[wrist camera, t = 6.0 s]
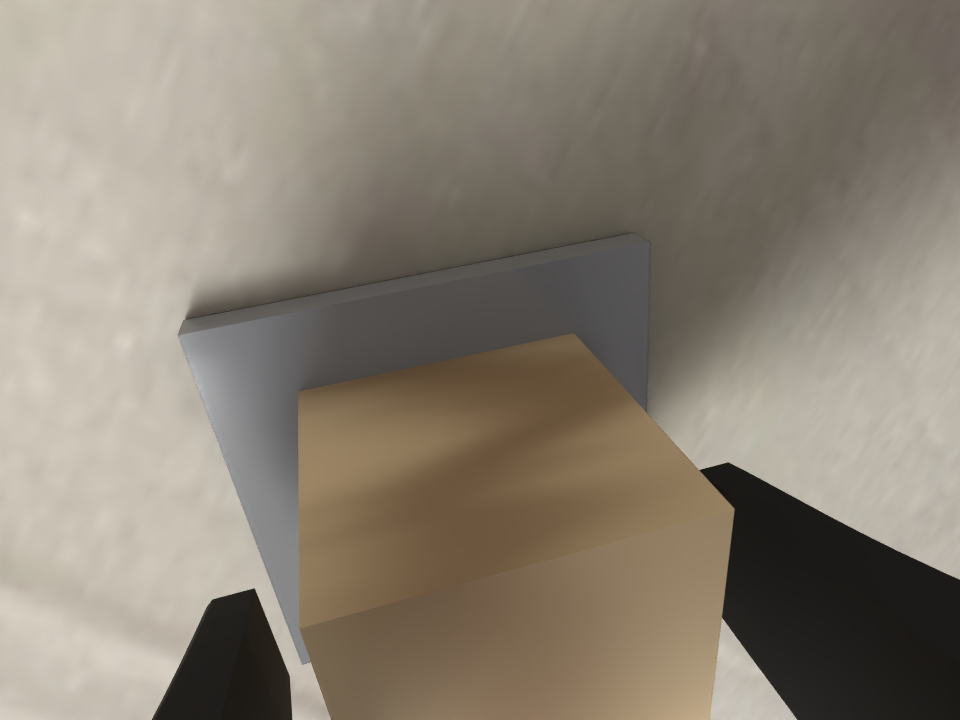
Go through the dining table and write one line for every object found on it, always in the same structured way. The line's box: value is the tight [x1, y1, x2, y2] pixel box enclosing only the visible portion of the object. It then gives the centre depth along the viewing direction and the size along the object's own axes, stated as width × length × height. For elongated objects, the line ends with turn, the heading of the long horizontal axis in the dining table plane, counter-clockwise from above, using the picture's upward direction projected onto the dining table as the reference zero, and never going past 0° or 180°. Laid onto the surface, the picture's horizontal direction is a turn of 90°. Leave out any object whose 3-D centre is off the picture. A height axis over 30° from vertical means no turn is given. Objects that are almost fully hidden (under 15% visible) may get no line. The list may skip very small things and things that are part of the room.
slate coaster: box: [178, 233, 650, 665], centre depth 13 cm, size 8×8×1 cm
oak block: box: [298, 333, 735, 720], centre depth 10 cm, size 5×5×5 cm
